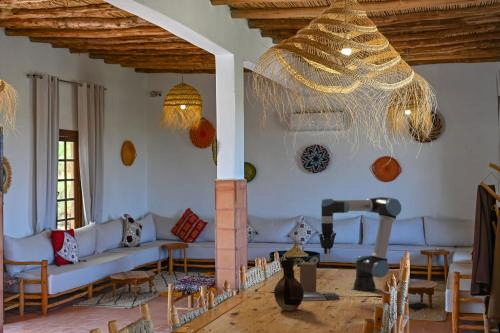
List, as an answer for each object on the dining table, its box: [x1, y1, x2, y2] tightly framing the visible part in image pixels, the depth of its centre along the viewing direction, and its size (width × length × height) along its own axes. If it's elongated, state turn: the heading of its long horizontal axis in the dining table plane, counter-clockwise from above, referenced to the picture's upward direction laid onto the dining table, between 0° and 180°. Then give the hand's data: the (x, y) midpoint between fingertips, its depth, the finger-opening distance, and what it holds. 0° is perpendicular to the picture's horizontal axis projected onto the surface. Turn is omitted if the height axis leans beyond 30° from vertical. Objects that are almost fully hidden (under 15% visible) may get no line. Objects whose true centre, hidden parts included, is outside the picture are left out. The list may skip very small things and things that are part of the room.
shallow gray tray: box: [302, 291, 327, 302], centre depth 444 cm, size 16×14×2 cm
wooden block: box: [299, 261, 318, 292], centre depth 461 cm, size 10×10×20 cm
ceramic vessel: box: [273, 258, 304, 312], centre depth 408 cm, size 21×18×30 cm
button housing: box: [322, 292, 340, 300], centre depth 444 cm, size 8×8×2 cm
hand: (327, 258), depth 447 cm, fingers closed
